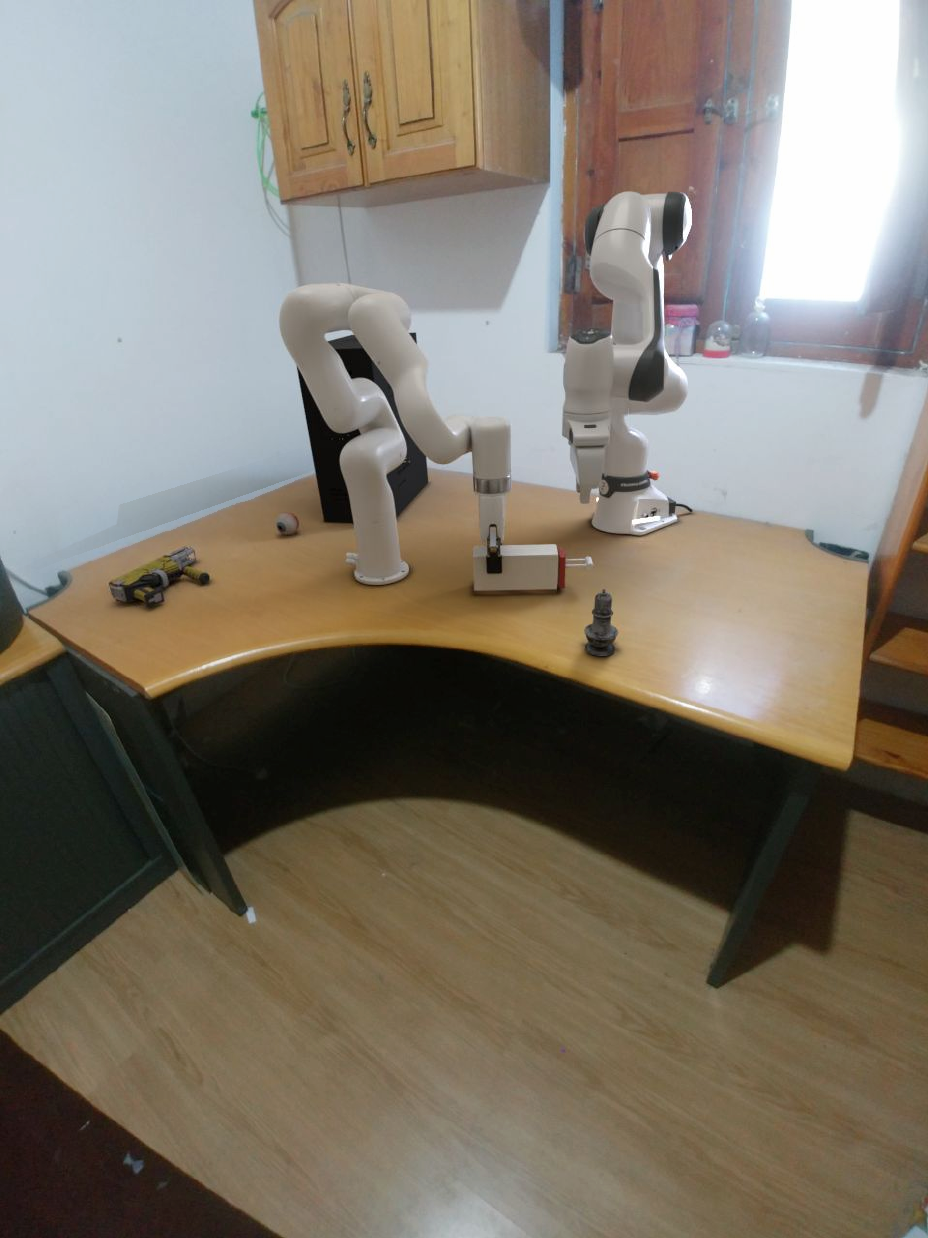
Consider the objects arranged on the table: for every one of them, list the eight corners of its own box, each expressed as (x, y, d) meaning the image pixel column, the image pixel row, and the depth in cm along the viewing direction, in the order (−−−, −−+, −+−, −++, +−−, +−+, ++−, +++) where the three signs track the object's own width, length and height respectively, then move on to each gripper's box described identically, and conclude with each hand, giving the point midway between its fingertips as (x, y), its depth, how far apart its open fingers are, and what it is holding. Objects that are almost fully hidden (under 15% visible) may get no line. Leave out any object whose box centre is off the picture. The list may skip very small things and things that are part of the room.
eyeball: (273, 537, 164) (268, 516, 161) (287, 528, 169) (282, 508, 166) (291, 539, 161) (286, 518, 158) (305, 530, 166) (301, 510, 163)
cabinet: (554, 581, 132) (555, 543, 128) (556, 593, 128) (557, 554, 123) (475, 583, 134) (473, 545, 129) (474, 594, 129) (472, 556, 124)
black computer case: (391, 523, 168) (370, 347, 145) (324, 521, 172) (293, 350, 150) (428, 482, 199) (416, 332, 177) (370, 481, 204) (351, 334, 181)
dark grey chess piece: (616, 658, 105) (622, 597, 99) (582, 655, 106) (586, 595, 100) (616, 640, 110) (621, 581, 104) (583, 638, 111) (587, 580, 105)
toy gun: (232, 554, 147) (182, 544, 151) (158, 595, 127) (102, 582, 130) (235, 572, 149) (185, 561, 153) (162, 615, 129) (107, 601, 133)
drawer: (590, 578, 131) (591, 548, 127) (592, 587, 127) (594, 556, 123) (487, 580, 132) (486, 550, 129) (487, 589, 129) (486, 558, 125)
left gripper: (475, 471, 127) (478, 550, 136) (471, 498, 112) (475, 584, 121) (510, 470, 126) (511, 549, 135) (511, 497, 111) (512, 584, 120)
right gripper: (564, 414, 122) (562, 481, 129) (574, 439, 104) (571, 515, 111) (595, 413, 121) (591, 480, 128) (611, 437, 104) (605, 514, 111)
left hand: (494, 565), depth 128 cm, fingers open, 6 cm apart
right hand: (582, 496), depth 119 cm, fingers open, 5 cm apart
